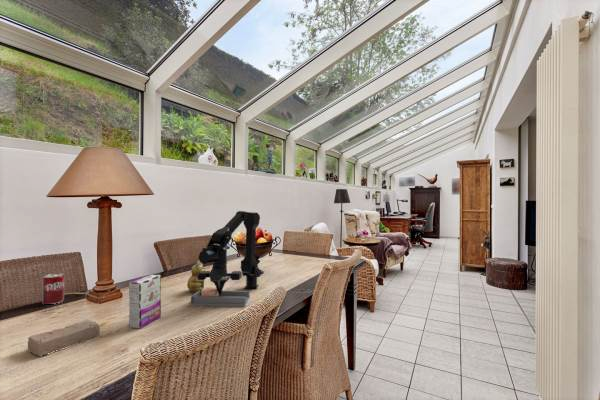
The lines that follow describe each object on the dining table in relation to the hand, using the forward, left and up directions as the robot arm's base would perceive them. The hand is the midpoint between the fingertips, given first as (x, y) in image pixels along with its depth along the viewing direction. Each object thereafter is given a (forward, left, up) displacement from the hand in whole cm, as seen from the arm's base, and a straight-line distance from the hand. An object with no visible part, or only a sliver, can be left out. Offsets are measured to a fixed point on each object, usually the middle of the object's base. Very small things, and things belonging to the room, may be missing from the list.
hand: (219, 294), depth 130 cm
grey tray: (0, +1, -3) cm, 3 cm away
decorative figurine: (-15, -16, -3) cm, 23 cm away
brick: (+39, -38, -4) cm, 55 cm away
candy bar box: (+23, -21, -4) cm, 32 cm away
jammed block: (0, -4, -2) cm, 5 cm away
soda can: (+4, -72, -3) cm, 73 cm away
